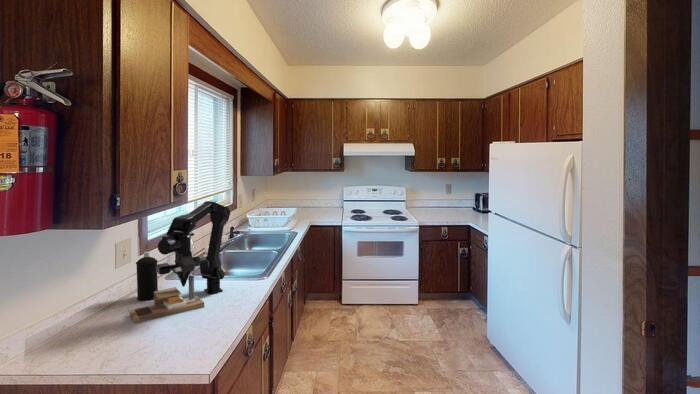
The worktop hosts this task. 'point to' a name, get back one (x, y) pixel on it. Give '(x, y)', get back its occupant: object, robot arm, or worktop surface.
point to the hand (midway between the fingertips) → (183, 286)
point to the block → (173, 299)
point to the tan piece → (163, 306)
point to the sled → (183, 301)
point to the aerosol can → (146, 278)
